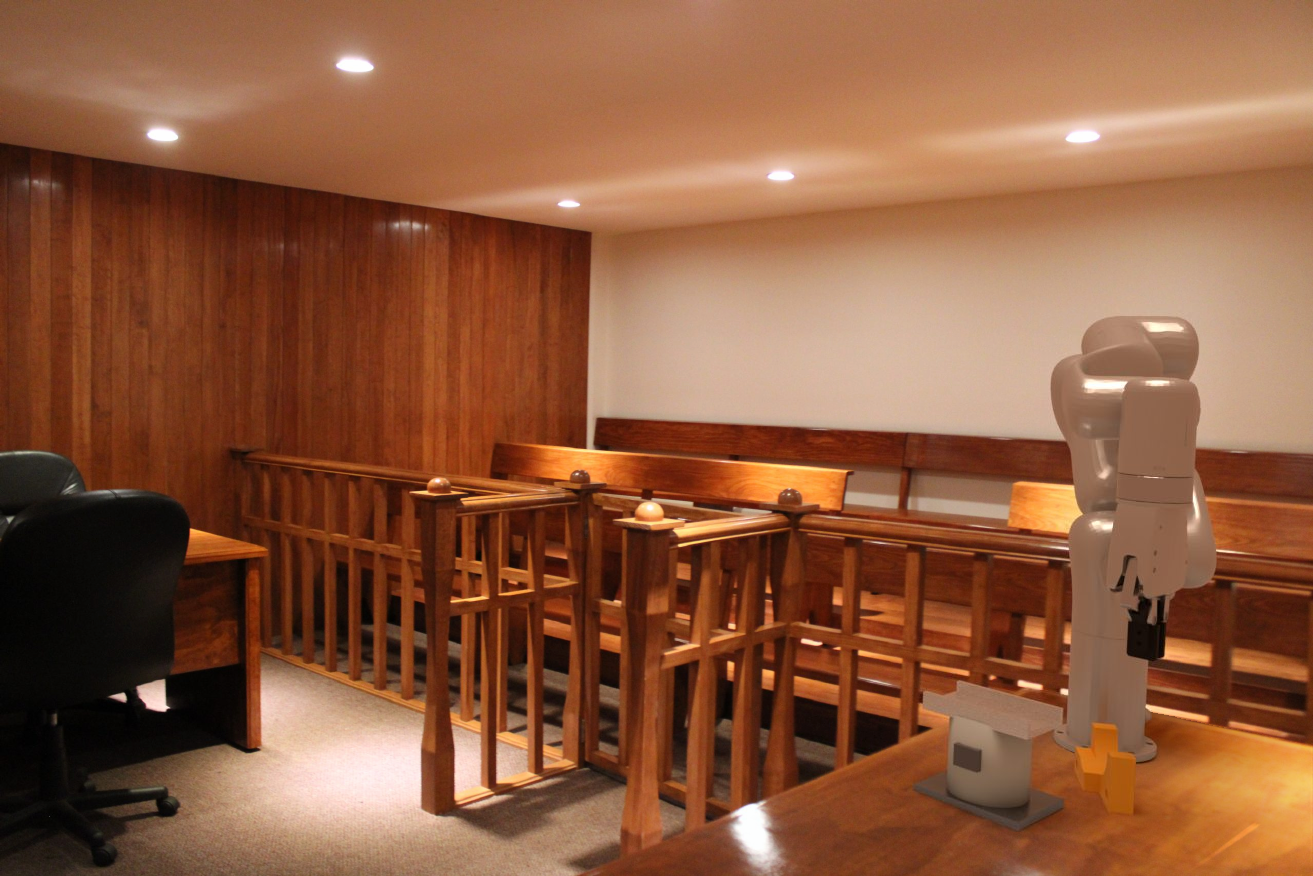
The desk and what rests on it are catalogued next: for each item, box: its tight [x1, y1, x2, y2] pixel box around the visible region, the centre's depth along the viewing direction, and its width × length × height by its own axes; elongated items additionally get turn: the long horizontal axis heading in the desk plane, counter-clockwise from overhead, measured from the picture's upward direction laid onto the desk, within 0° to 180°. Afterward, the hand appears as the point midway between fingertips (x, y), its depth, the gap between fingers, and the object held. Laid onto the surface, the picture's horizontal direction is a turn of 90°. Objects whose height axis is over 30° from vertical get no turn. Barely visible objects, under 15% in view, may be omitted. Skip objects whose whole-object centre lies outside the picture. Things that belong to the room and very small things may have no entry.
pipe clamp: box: [1073, 723, 1137, 816], centre depth 119 cm, size 12×4×6 cm, turn 166°
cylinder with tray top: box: [912, 680, 1065, 832], centre depth 115 cm, size 10×13×12 cm
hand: (1145, 656), depth 112 cm, fingers closed
